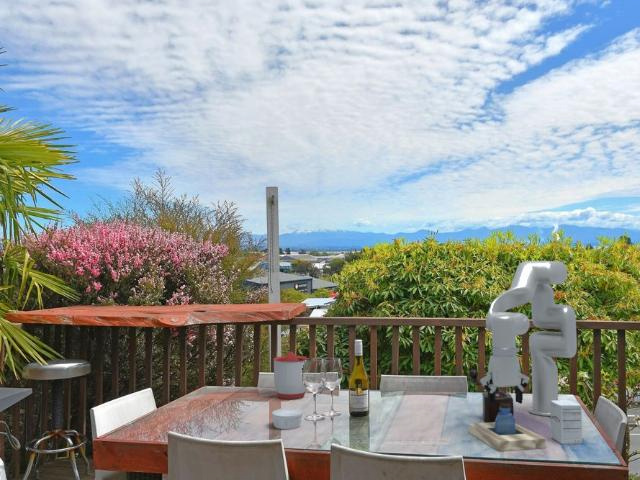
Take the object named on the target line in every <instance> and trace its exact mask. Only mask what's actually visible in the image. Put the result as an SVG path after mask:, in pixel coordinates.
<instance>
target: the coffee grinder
mask: <svg viewBox="0 0 640 480" xmlns="http://www.w3.org/2000/svg"><path fill="white" fill-rule="evenodd" d="M467 375H468V377H470V379H471V383H473V384H475V385H476V386H482V384H481V382H480V379H478V377H479V376H478V375H479V372H478V370H476V369H471V370H469V371H468V373H467ZM486 384H487V386H489V385H490V384H489V383H488V381H487V382H486ZM499 388H500V387H497V388H496V389H495V391H494V392H493V393H495V405H491V404H489V402H488V392H487V391H485V392H482V415H481V416H482V421H483V423H489V422H495V420H496V417H497V415H498V413H499V412H500V403H509V404H510V405H509V407H510V411H509V413H512V415H513V417H514V418H515V415H514V398H513V397H512V395H511V393H509V392H505V391H503V390H501V389H499Z"/></svg>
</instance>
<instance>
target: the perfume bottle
mask: <svg viewBox="0 0 640 480" xmlns="http://www.w3.org/2000/svg"><path fill="white" fill-rule="evenodd" d="M509 405H510V404H509V403H500V412H499V413H498V415H497V417H496V420H495V433H496V434H498V435H513V434H515V423H516V419H515V416H514V417H513V415H512V413H509V411H510V407H509Z"/></svg>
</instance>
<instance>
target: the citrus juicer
mask: <svg viewBox="0 0 640 480" xmlns="http://www.w3.org/2000/svg"><path fill="white" fill-rule="evenodd" d="M305 360H307V361H308V357H307V356H302V355H295V353H294V352H293V351H289V352H288V353H287V354H286V355H283V356H281V355H280V356H276V357H273V381H274V388H275V393H276V394H277V397H278V398H280V399H281V400H286V399H289V400H290V399H294V400H296V399H297V400H300V399H301V398H304V397H305V394H306V392H307V388H305V386H304V385H303V383H302V377H301V373H302V368H303V365H304V362H305Z"/></svg>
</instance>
